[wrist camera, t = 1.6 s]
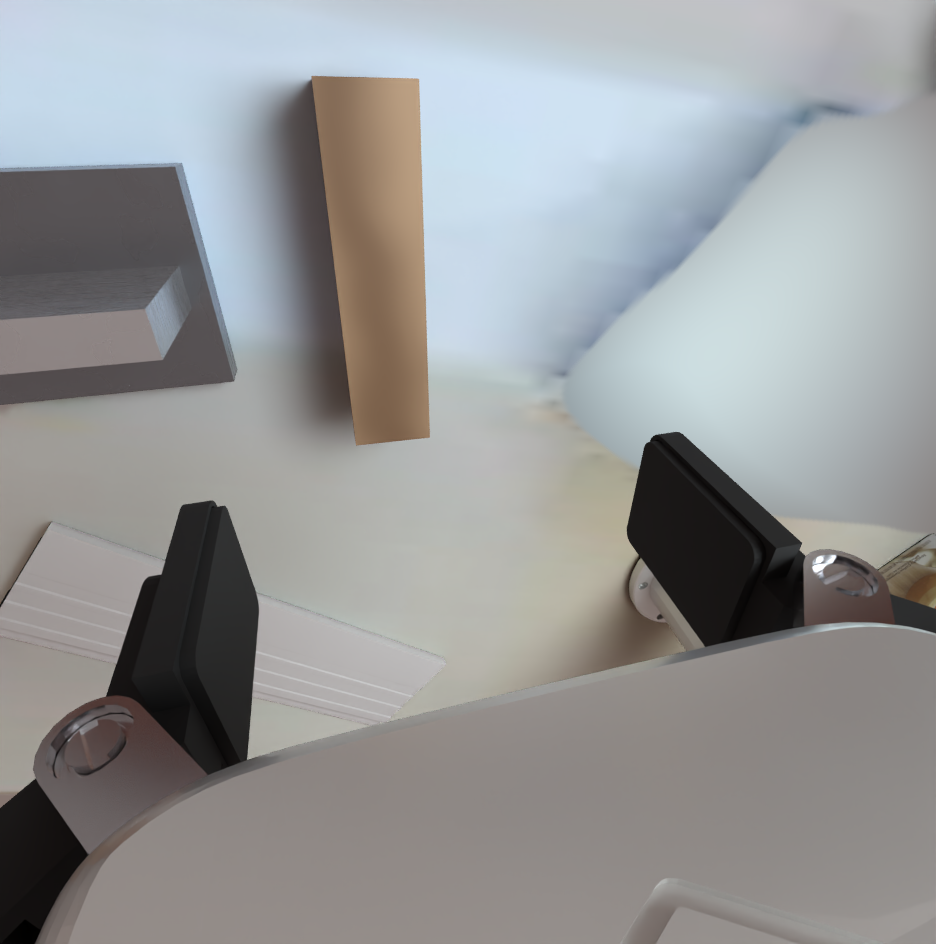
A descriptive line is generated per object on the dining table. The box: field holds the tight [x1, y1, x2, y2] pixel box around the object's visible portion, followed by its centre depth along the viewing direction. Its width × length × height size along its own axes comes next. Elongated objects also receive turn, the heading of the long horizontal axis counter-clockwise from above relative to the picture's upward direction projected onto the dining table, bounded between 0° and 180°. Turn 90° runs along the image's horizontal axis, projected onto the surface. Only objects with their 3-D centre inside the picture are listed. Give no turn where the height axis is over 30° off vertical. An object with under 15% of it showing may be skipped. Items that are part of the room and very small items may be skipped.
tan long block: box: [312, 76, 430, 445], centre depth 27 cm, size 4×16×5 cm, turn 179°
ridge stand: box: [0, 163, 237, 405], centre depth 23 cm, size 11×10×8 cm
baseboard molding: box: [0, 522, 446, 726], centre depth 42 cm, size 31×3×12 cm
